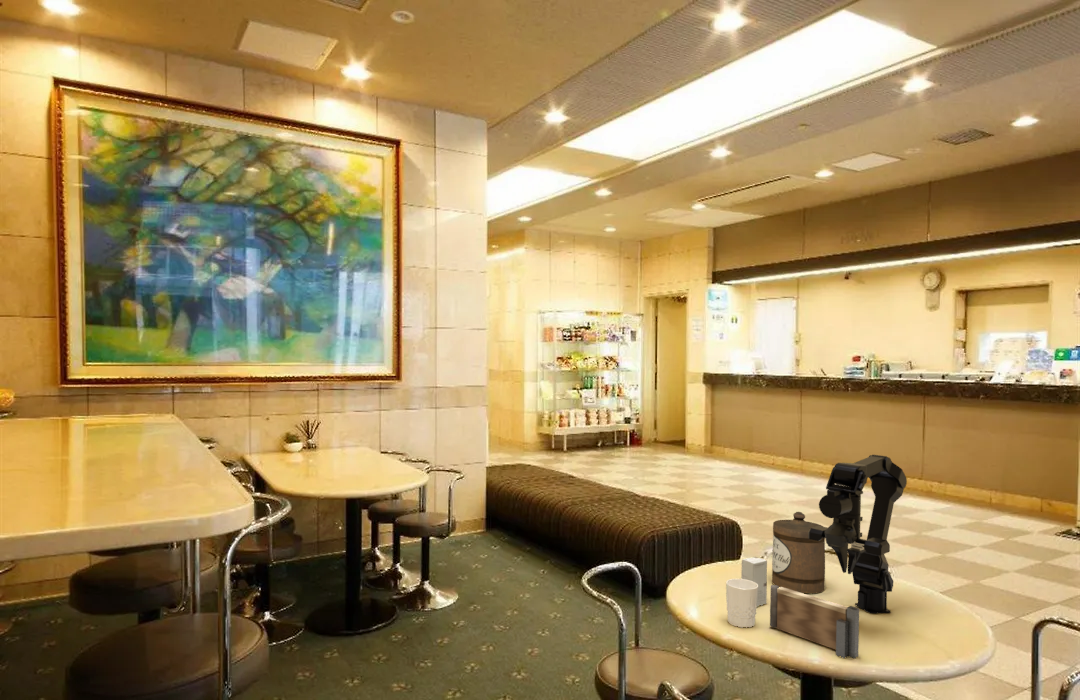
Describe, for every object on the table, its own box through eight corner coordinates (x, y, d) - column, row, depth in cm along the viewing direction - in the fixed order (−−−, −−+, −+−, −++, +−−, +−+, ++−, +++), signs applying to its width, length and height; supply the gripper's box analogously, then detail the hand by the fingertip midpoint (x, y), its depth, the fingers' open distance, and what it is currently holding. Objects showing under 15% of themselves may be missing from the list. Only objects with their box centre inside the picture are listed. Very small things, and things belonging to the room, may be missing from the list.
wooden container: (768, 575, 207) (770, 505, 207) (818, 579, 204) (820, 508, 204) (775, 591, 193) (777, 516, 193) (829, 596, 190) (831, 520, 190)
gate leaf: (768, 625, 166) (769, 586, 166) (772, 623, 168) (773, 584, 168) (844, 653, 152) (845, 609, 152) (848, 650, 153) (849, 607, 153)
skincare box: (753, 608, 179) (754, 563, 179) (739, 602, 183) (740, 559, 183) (767, 604, 182) (768, 560, 183) (754, 598, 186) (755, 555, 186)
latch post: (835, 655, 151) (836, 607, 152) (843, 651, 154) (844, 603, 154) (851, 660, 149) (852, 612, 149) (858, 656, 151) (859, 608, 151)
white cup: (734, 614, 175) (735, 576, 175) (762, 623, 169) (763, 584, 169) (719, 622, 169) (720, 583, 169) (747, 631, 163) (748, 591, 164)
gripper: (798, 509, 172) (797, 569, 172) (872, 524, 158) (870, 590, 158) (818, 504, 179) (817, 561, 179) (891, 518, 165) (890, 580, 165)
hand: (847, 573), depth 170 cm, fingers closed
